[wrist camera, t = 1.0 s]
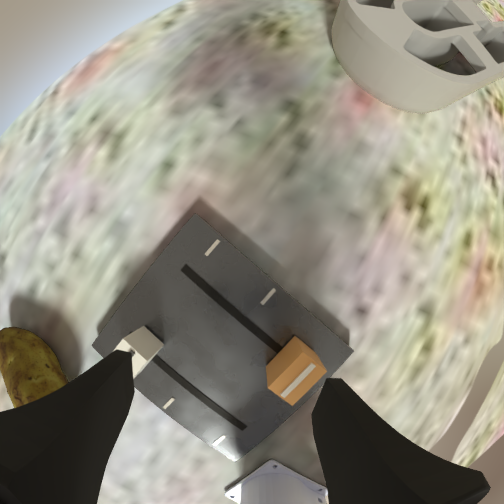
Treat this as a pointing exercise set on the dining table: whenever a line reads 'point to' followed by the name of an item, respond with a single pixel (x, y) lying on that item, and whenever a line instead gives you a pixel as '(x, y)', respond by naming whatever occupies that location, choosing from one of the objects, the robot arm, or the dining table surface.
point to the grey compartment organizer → (417, 49)
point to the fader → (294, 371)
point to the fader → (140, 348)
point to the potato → (28, 366)
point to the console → (217, 339)
